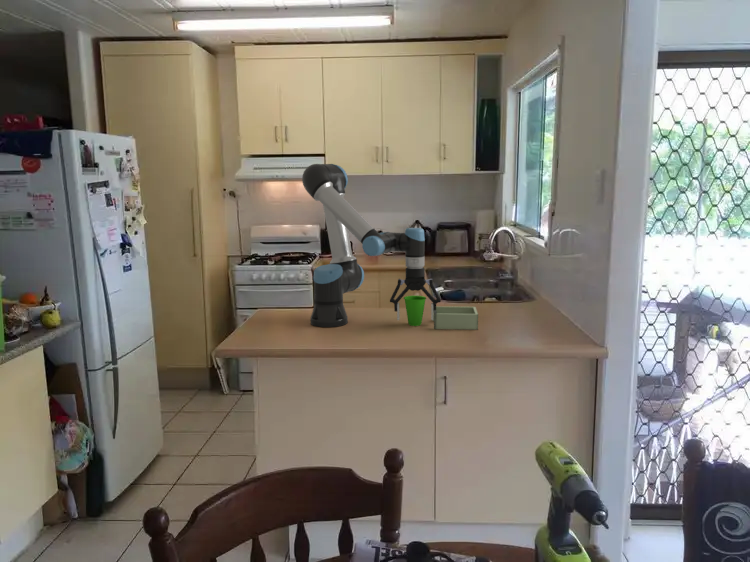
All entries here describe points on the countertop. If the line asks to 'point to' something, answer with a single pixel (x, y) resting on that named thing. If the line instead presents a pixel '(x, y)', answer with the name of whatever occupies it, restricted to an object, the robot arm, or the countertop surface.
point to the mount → (455, 317)
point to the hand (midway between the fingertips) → (415, 319)
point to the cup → (414, 309)
